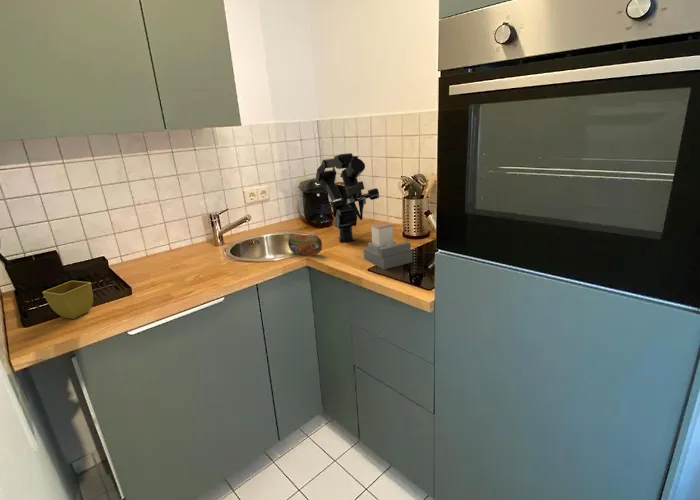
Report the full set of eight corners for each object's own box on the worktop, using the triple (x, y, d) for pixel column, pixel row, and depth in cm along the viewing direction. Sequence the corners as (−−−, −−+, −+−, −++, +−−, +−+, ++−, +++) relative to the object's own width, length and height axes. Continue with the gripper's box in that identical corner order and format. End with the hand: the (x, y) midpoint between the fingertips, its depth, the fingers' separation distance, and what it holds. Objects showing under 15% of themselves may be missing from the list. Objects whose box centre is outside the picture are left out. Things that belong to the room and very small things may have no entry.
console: (364, 258, 142) (363, 240, 140) (390, 252, 147) (390, 235, 145) (384, 269, 130) (383, 250, 128) (412, 262, 135) (412, 243, 133)
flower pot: (50, 319, 110) (40, 291, 107) (80, 306, 117) (71, 279, 114) (71, 323, 106) (61, 294, 104) (100, 309, 114) (91, 282, 111)
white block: (372, 247, 140) (371, 224, 138) (386, 244, 143) (385, 222, 140) (379, 250, 136) (378, 227, 133) (393, 247, 139) (392, 224, 136)
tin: (289, 253, 154) (286, 233, 151) (293, 251, 157) (291, 231, 154) (320, 257, 147) (318, 236, 145) (324, 254, 150) (322, 234, 147)
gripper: (325, 183, 143) (336, 221, 141) (373, 169, 143) (384, 207, 140) (329, 191, 154) (339, 227, 152) (373, 179, 154) (384, 214, 151)
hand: (361, 219), depth 149 cm, fingers closed
